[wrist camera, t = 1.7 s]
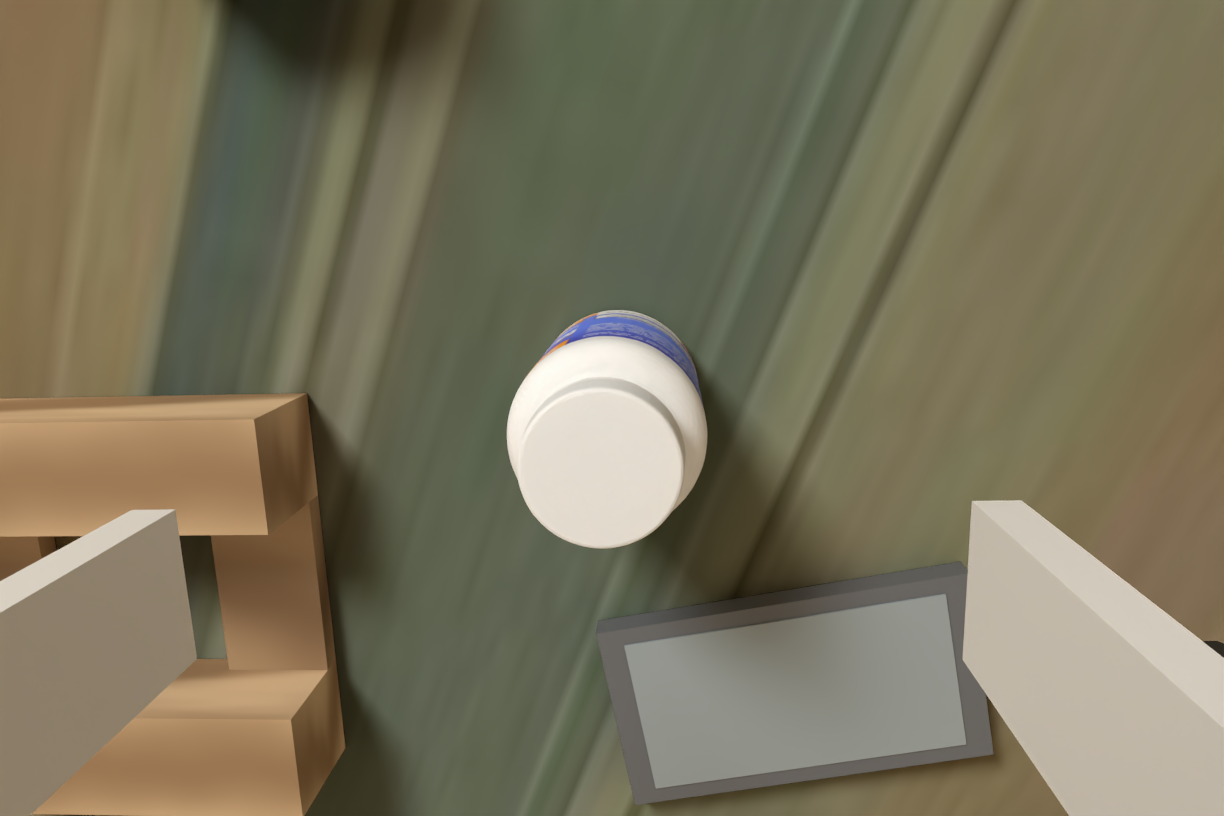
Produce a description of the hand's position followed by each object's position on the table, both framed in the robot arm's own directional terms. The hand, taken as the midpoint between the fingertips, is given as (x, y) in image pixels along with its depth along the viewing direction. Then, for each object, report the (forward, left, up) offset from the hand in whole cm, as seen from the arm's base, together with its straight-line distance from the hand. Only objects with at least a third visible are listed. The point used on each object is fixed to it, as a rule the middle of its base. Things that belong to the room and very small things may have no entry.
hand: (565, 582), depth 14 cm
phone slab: (+11, +6, -16) cm, 20 cm away
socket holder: (+7, -18, -16) cm, 25 cm away
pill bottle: (0, 0, -16) cm, 16 cm away
